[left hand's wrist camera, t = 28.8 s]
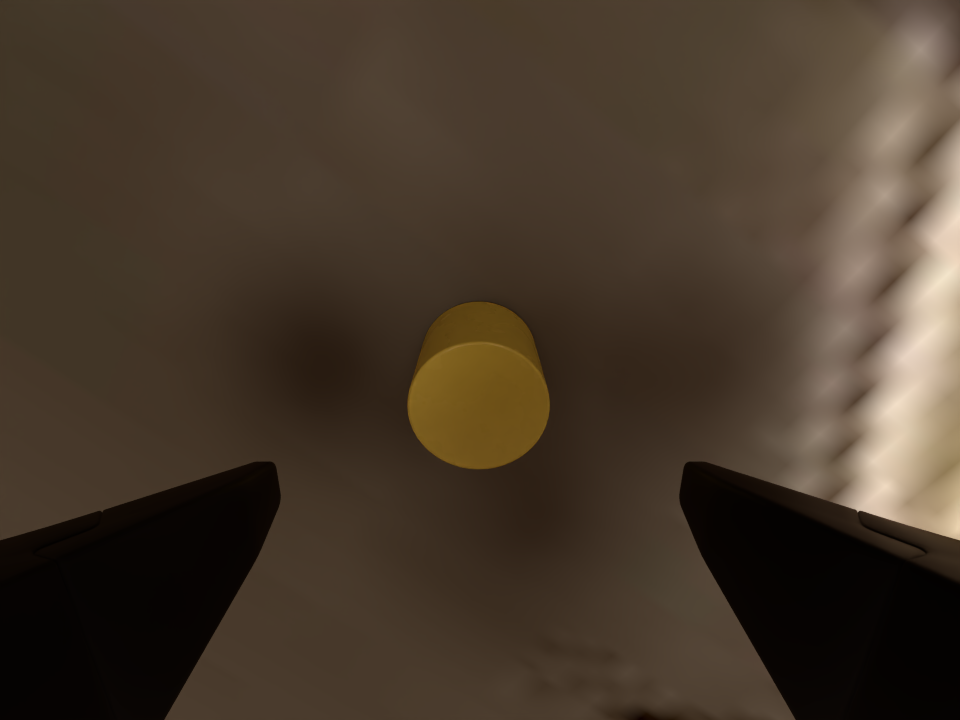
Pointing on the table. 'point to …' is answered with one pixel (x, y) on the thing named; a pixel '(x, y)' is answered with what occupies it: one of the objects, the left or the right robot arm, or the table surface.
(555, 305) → the table surface
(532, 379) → the yellow short cylinder
